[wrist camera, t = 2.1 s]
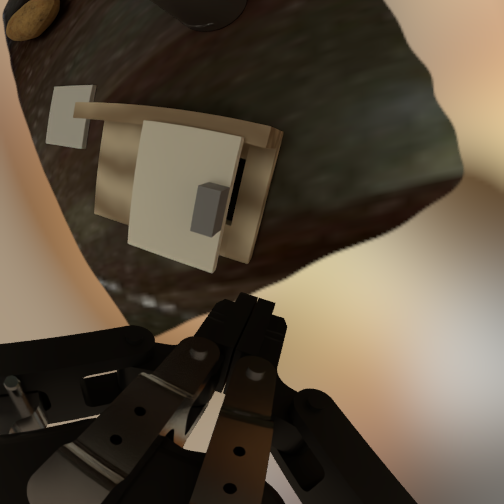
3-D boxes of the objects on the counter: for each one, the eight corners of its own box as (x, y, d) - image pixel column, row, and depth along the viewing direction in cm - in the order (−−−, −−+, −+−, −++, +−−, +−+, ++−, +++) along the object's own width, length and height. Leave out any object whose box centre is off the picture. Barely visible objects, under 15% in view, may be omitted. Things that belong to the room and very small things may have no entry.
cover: (149, 120, 26) (129, 119, 23) (244, 137, 24) (233, 136, 21) (132, 240, 31) (114, 250, 28) (215, 269, 29) (202, 283, 26)
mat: (58, 87, 36) (54, 86, 35) (96, 85, 34) (92, 84, 33) (49, 142, 39) (45, 143, 38) (85, 148, 38) (81, 148, 37)
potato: (67, 28, 31) (35, 20, 24) (26, 51, 34) (-3, 49, 27) (77, -13, 28) (49, -23, 21) (34, 13, 31) (7, 8, 24)
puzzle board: (116, 105, 35) (75, 102, 27) (283, 132, 32) (271, 126, 24) (102, 210, 41) (64, 224, 33) (251, 258, 38) (232, 287, 30)
